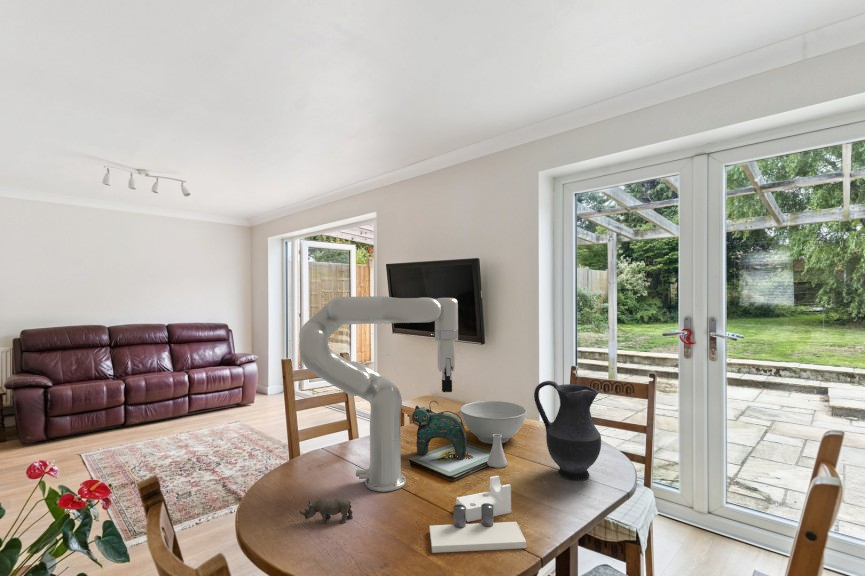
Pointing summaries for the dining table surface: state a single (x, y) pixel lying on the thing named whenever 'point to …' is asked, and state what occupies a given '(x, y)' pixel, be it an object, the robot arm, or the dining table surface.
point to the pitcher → (571, 430)
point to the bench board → (476, 537)
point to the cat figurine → (439, 430)
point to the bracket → (488, 500)
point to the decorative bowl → (493, 419)
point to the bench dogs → (485, 515)
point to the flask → (497, 453)
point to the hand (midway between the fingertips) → (447, 391)
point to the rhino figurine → (329, 509)
